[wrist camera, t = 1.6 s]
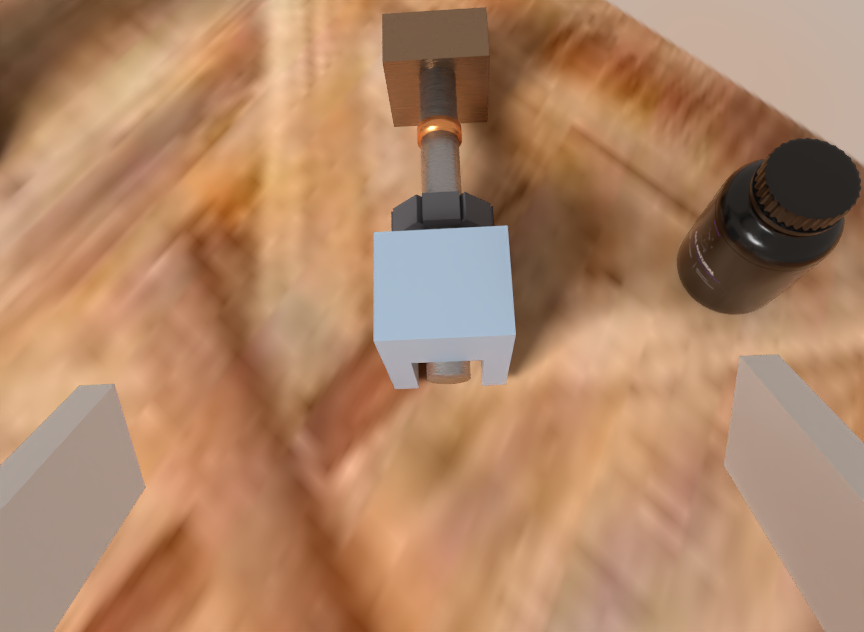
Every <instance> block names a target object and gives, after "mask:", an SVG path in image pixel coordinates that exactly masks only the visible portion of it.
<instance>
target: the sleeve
mask: <svg viewBox="0 0 864 632" xmlns="http://www.w3.org/2000/svg"><path fill="white" fill-rule="evenodd" d="M515 337H516V329H515V316H514V303H513V289H512V276H511V263H510V250H509V236H508V226H488V227H468V228H448V229H429V230H409V231H389V232H374V343H375V345H376V347H377V350H378V352H379V354H380V356H381V359H382V361H383V363H384V365H385V367H386V370H387V372H388V374H389V376H390V379H391V381H392V383H393V385H394V387H395V389H410V388H419V374H418V363H427V362H450V361H474V360H481V377H482V386H483V385H506V381H507V376H508V371H509V366H510V362H511V357H512V352H513V347H514V342H515Z"/></svg>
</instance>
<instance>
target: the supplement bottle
mask: <svg viewBox="0 0 864 632" xmlns="http://www.w3.org/2000/svg"><path fill="white" fill-rule="evenodd" d="M860 183H861V179H860V178H859V172H858V170H857V169H856V165H855V164H854V163H853V162H852V161H851V158H850V157H849V156H847V155H846V154H845V153H844V151H842V150H840V149H838V148H837V147H836V146H834V145H830V144H829V143H828V142H823V141H820V140H818V139H814V140H813V139H810V138H806V139H800V138H799V139H797V140H790V141H789V142H787V143H783V144H781V145H780V146H779V147H777V148H775V149H774V150H773V151H772V153H771V154H769V155H768V157H767V158H766V159H761V160H757V161H754V162H751V163H749V164H747V165H744V166H743V167H741V168H739V169H738V170H737V171H735V172H734V173H733V174H732V175H731V176H730V177H729V178H728V179H727V180H726V181H725V183H724V184H723V185H722V187H721V188H720V189H719V191H718V192H717V194H716V195H715V196H714V198H713V199H712V201H711V202H710V203H709V205H708V206H707V208H706V209H705V210H704V212H703V213H702V215H701V216H700V218H699V219H698V220H697V222H696V223H695V225H694V226H693V227H692V229H691V230H690V232H689V233H688V235H687V236H686V238H685V239H684V241H683V243H682V244H681V247H680V249H679V252H678V258H677V268H678V274H679V277H680V280H681V282H682V284H683V286H684V287H685V289H686V290H687V292H688V293H689V294H690V295H691V296H692V297H693V298H694V299H695V300H696V301H697V302H699V303H700V304H702V305H703V306H705V307H707V308H709V309H711V310H713V311H716V312H720V313H724V314H744V313H749V312H752V311H755V310H757V309H759V308H761V307H763V306H764V305H766V304H767V303H769V302H770V301H771V300H773V299H774V298H775V297H776V296H778V295H779V294H780V293H782V292H783V291H784V290H785V289H787V288H788V287H789V286H790V285H792V284H793V283H794V282H795V281H797V280H798V279H799V278H800V277H802V276H803V275H804V274H805V273H807V272H808V271H809V270H810V269H812V268H813V267H814V266H815V265H817V264H818V263H819V262H820V261H822V260H823V259H824V258H825V257H826V256H827V255H828V254H829V253H830V252H831V251H832V250H833V249H834V248H835V247H836V245H837V243H838V242H839V240H840V238H841V235H842V232H843V229H844V221H845V215H846V214H847V213H848V212H849V211H850V209H851V208H852V207H853V206H854V205H855V204H856V200H857V199H858V198H859V191H860V190H861V186H860Z"/></svg>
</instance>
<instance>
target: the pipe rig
mask: <svg viewBox="0 0 864 632" xmlns="http://www.w3.org/2000/svg"><path fill="white" fill-rule="evenodd" d="M382 30H383V67H384V73H385V78H386V84H387V89H388V95H389V101H390V106H391V112H392V118H393V123H394V127H399V126H417V125H418V127H417V136H418V145H419V147H420V148H421V173H422V193H432V192H450V191H459V195H461V176H460V156H459V146H460V145H461V143H462V134H461V125H460V123H469V122H486V121H487V110H488V83H489V57H490V55H489V41H488V27H487V13H486V7H485V8H470V9H454V10H439V11H423V12H408V13H392V14H382ZM448 228H459V227H444V228H427V229H425V230H429V229H448ZM469 379H470V361H450V362H427V380H428V381H429V382H432V383H437V384H455V383H461V382H465V381H468V380H469Z"/></svg>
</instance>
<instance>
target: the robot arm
mask: <svg viewBox="0 0 864 632" xmlns="http://www.w3.org/2000/svg"><path fill="white" fill-rule="evenodd" d="M724 467H725V469H726V470H727V472H728V474H729V475H730V477H731V479H732V480H733V482H734V483H735V485H736V487H737V488H738V490H739V492H740V493H741V495H742V497H743V498H744V500H745V502H746V503H747V505H748V506H749V508H750V510H751V511H752V513H753V515H754V516H755V518H756V520H757V521H758V523H759V525H760V526H761V528H762V529H763V531H764V533H765V534H766V536H767V538H768V539H769V541H770V543H771V544H772V546H773V548H774V549H775V551H776V553H777V554H778V556H779V557H780V559H781V561H782V562H783V564H784V566H785V567H786V569H787V571H788V572H789V574H790V576H791V577H792V579H793V580H794V582H795V584H796V585H797V587H798V589H799V590H800V592H801V594H802V595H803V597H804V599H805V600H806V602H807V603H808V605H809V607H810V608H811V610H812V612H813V613H814V615H815V617H816V618H817V620H818V622H819V623H820V625H821V626H822V628H823V630H824V631H825V632H864V443H863V442H862V441H861V440H860V439H859V438H858V437H857V436H856V435H855V434H854V433H853V432H852V431H851V430H850V429H849V427H848V426H847V425H846V424H845V423H844V422H843V421H842V420H841V419H840V418H839V417H838V416H837V415H836V414H835V413H834V412H833V411H832V410H831V409H830V408H829V407H828V406H827V405H826V404H825V403H824V402H823V401H822V400H821V398H820V397H819V396H818V395H817V394H816V393H815V392H814V391H813V390H812V389H811V388H810V387H809V386H808V385H807V384H806V383H805V382H804V381H803V380H802V379H801V378H800V377H799V376H798V375H797V374H796V373H795V372H794V371H793V369H792V368H791V367H790V366H789V365H788V364H787V363H786V362H785V361H784V360H783V359H782V358H781V357H780V356H779V355H778V354H777V355H754V356H740V358H739V365H738V372H737V379H736V386H735V392H734V399H733V406H732V413H731V420H730V427H729V434H728V441H727V448H726V455H725V462H724ZM144 489H145V484H144V481H143V478H142V474H141V471H140V468H139V464H138V461H137V458H136V454H135V451H134V448H133V444H132V441H131V438H130V434H129V431H128V428H127V424H126V421H125V418H124V414H123V411H122V408H121V404H120V401H119V398H118V394H117V391H116V388H115V384H104V385H81V386H79V387H78V388H77V389H76V390H75V391H74V392H73V393H72V394H71V395H70V396H69V397H68V398H67V399H66V400H65V401H64V402H63V403H62V404H61V405H60V406H59V407H58V408H57V409H56V410H55V411H54V412H53V413H52V414H51V415H50V416H49V417H48V418H47V419H46V420H45V421H44V422H43V423H42V424H41V425H40V426H39V427H38V428H37V429H36V430H35V431H34V432H33V433H32V434H31V435H30V436H29V437H28V438H27V439H26V440H25V441H24V442H23V443H22V444H21V445H20V446H19V447H18V448H17V449H16V450H15V451H14V452H13V453H12V454H11V455H10V456H9V457H8V458H7V459H6V460H5V461H4V462H3V463H2V464H1V465H0V632H53V631H54V630H55V628H56V627H57V625H58V624H59V622H60V620H61V619H62V617H63V616H64V614H65V613H66V611H67V610H68V608H69V606H70V605H71V603H72V602H73V600H74V599H75V597H76V595H77V594H78V592H79V591H80V589H81V588H82V586H83V584H84V583H85V581H86V580H87V578H88V577H89V575H90V573H91V572H92V570H93V569H94V567H95V566H96V564H97V563H98V561H99V559H100V558H101V556H102V555H103V553H104V552H105V550H106V548H107V547H108V545H109V544H110V542H111V541H112V539H113V537H114V536H115V534H116V533H117V531H118V530H119V528H120V527H121V525H122V523H123V522H124V520H125V519H126V517H127V516H128V514H129V512H130V511H131V509H132V508H133V506H134V505H135V503H136V501H137V500H138V498H139V497H140V495H141V494H142V492H143V490H144Z"/></svg>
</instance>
